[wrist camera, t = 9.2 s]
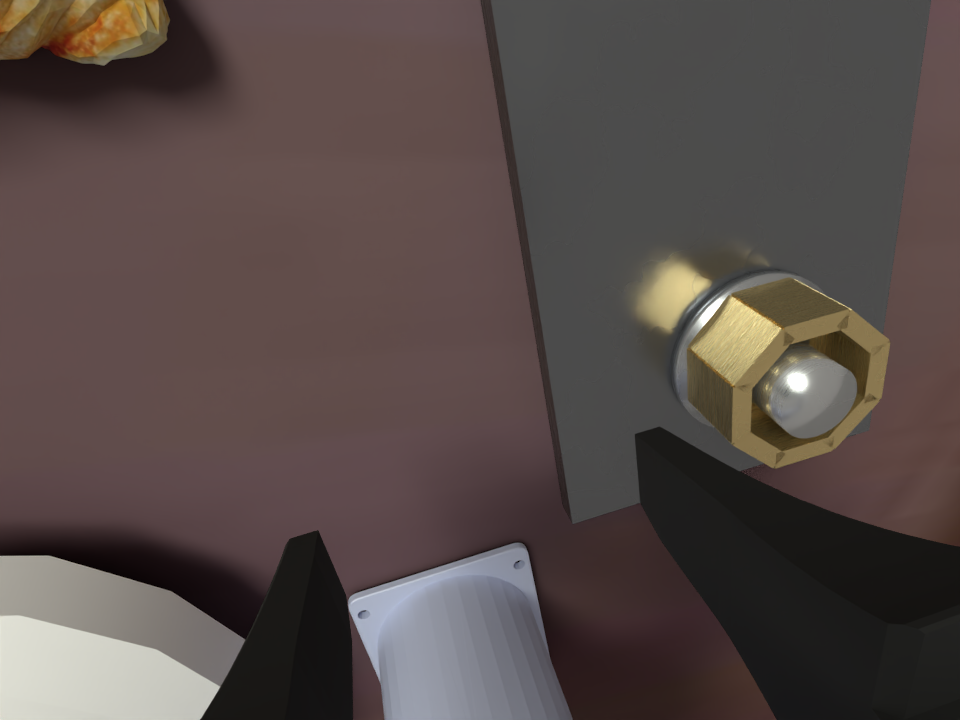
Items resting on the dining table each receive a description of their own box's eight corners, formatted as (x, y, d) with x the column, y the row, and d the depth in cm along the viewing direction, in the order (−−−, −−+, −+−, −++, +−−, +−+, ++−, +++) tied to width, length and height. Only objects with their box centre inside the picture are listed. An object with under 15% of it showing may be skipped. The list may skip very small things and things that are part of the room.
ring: (819, 396, 26) (874, 437, 24) (688, 435, 26) (731, 482, 23) (832, 264, 23) (898, 295, 21) (685, 305, 23) (733, 341, 20)
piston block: (849, 416, 30) (945, 486, 25) (562, 505, 28) (610, 597, 24) (914, -111, 20) (1092, -151, 15) (477, -17, 18) (532, -31, 14)
